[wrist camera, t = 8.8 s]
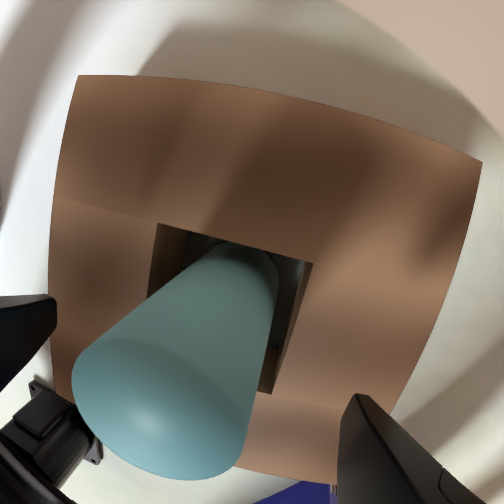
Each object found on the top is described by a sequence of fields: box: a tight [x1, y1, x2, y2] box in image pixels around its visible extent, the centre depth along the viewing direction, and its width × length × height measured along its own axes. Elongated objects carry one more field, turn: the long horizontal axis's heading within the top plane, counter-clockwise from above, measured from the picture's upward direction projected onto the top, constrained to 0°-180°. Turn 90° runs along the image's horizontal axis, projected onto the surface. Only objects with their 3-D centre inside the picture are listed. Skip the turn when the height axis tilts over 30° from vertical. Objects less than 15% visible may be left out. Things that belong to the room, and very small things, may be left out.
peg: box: [72, 241, 279, 480], centre depth 11 cm, size 4×4×10 cm
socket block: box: [48, 75, 483, 485], centre depth 14 cm, size 16×16×4 cm
